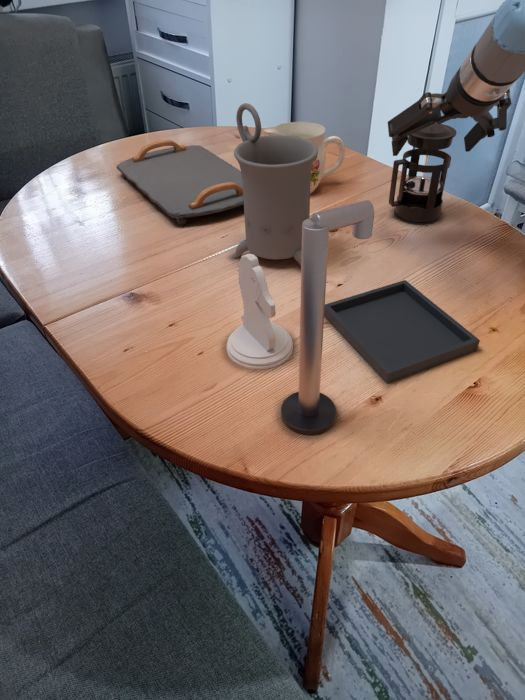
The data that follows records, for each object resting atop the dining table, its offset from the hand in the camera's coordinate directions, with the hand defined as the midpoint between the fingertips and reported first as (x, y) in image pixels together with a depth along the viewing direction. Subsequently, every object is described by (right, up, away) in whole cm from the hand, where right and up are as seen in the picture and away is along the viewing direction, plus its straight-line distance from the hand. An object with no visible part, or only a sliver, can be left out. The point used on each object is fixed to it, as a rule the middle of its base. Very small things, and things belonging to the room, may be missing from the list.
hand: (430, 146), depth 99 cm
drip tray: (-11, -35, -17) cm, 40 cm away
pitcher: (-22, -1, +23) cm, 31 cm away
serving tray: (-48, 0, +25) cm, 54 cm away
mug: (-29, -19, +2) cm, 35 cm away
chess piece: (-31, -37, -19) cm, 52 cm away
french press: (0, -10, +12) cm, 15 cm away
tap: (-24, -45, -29) cm, 59 cm away
